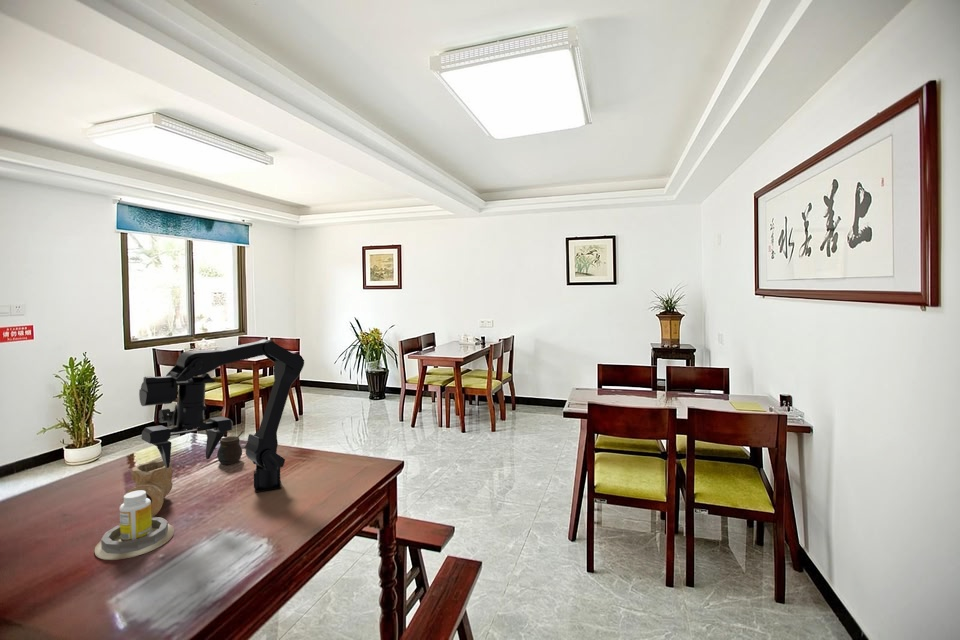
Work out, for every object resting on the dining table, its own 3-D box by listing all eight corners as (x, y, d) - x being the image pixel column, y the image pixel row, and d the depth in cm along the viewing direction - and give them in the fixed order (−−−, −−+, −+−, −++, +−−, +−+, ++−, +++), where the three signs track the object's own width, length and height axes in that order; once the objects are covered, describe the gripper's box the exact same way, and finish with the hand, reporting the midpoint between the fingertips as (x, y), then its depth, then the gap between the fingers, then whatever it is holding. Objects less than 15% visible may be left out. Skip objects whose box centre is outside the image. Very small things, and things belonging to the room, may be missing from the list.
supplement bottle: (155, 529, 103) (153, 486, 103) (147, 542, 98) (146, 497, 98) (125, 534, 101) (124, 490, 101) (116, 547, 96) (114, 501, 95)
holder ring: (178, 520, 109) (178, 509, 109) (167, 550, 96) (167, 538, 96) (106, 532, 103) (106, 521, 103) (84, 566, 90) (84, 554, 90)
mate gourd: (214, 461, 146) (214, 431, 146) (239, 456, 151) (239, 427, 151) (219, 468, 141) (219, 437, 140) (246, 462, 146) (246, 432, 145)
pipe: (118, 526, 106) (117, 485, 105) (136, 497, 121) (135, 461, 120) (164, 518, 110) (163, 479, 109) (176, 491, 124) (175, 456, 124)
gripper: (214, 392, 124) (211, 448, 124) (134, 400, 109) (131, 464, 109) (235, 398, 118) (232, 457, 118) (152, 408, 103) (149, 475, 103)
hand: (188, 463), depth 112 cm, fingers open, 9 cm apart
